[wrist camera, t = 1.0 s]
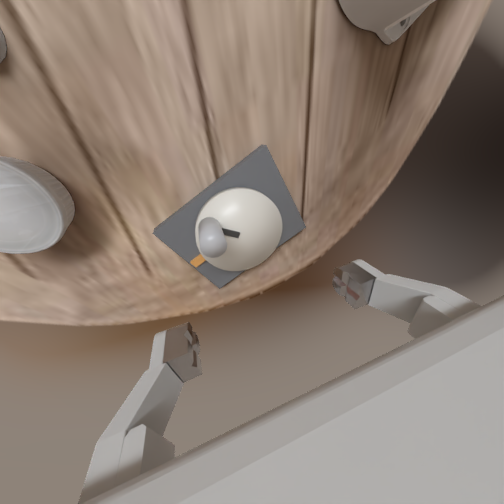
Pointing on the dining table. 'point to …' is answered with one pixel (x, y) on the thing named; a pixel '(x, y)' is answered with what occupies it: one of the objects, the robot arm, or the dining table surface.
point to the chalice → (2, 46)
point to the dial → (238, 229)
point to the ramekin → (31, 207)
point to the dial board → (241, 175)
